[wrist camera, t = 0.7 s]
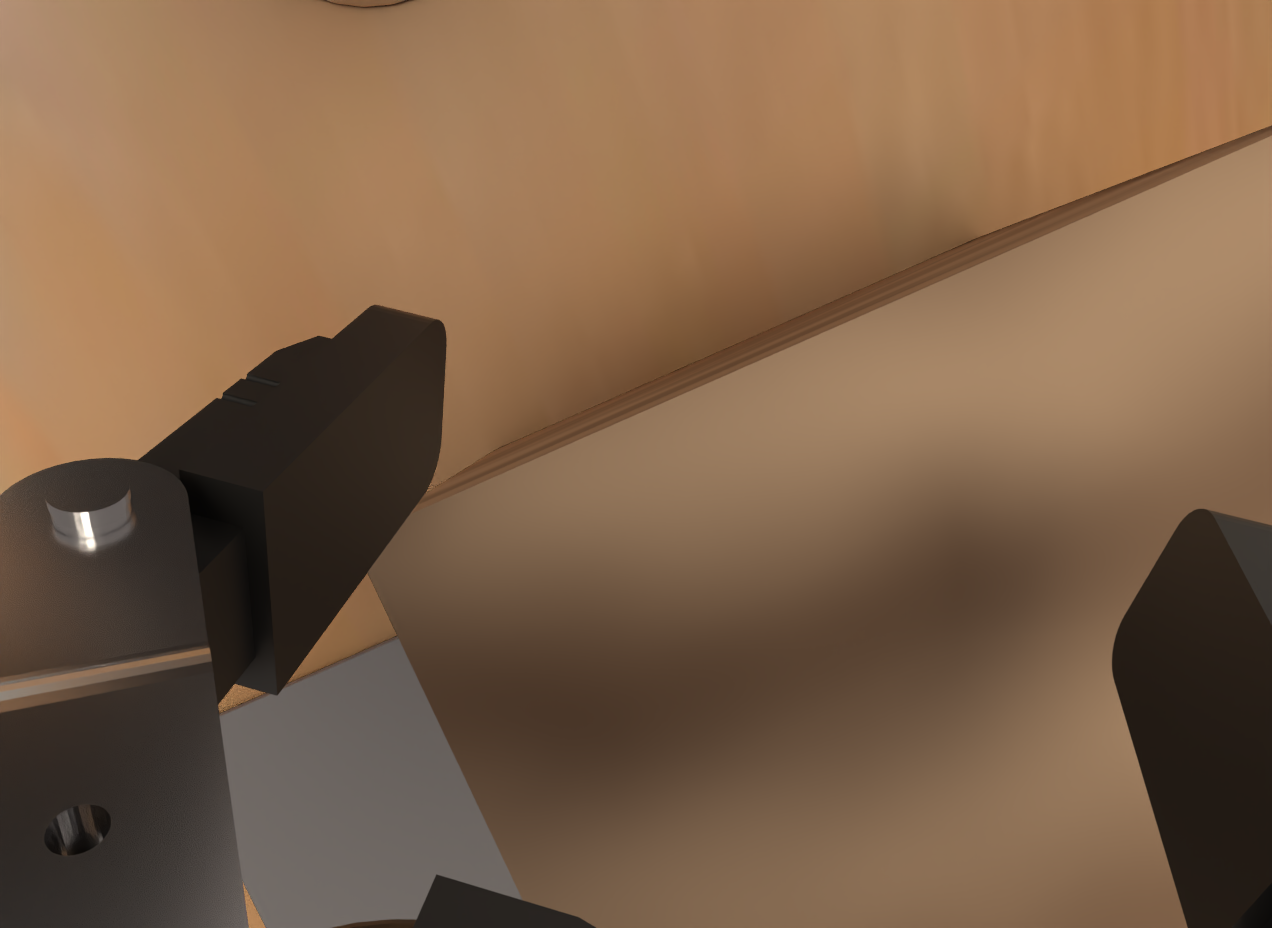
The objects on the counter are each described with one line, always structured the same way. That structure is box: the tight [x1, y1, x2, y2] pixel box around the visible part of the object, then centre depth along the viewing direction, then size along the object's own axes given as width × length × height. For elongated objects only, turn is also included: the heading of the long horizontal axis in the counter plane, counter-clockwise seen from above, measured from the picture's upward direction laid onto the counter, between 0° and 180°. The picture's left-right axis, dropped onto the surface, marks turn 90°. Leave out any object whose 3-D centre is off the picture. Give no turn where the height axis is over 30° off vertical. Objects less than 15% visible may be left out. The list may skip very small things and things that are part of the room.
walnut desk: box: [367, 126, 1272, 928], centre depth 24 cm, size 21×18×18 cm
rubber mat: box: [219, 636, 522, 928], centre depth 33 cm, size 11×10×1 cm
